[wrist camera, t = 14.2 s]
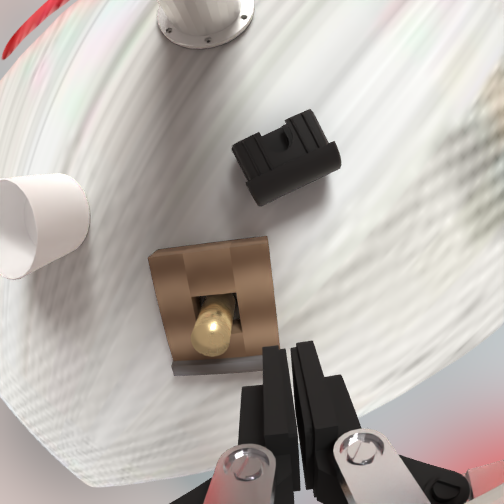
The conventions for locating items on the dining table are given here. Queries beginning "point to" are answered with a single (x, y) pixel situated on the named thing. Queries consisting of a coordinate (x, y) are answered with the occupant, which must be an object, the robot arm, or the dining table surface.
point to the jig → (210, 283)
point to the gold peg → (214, 325)
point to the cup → (39, 221)
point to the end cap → (286, 158)
